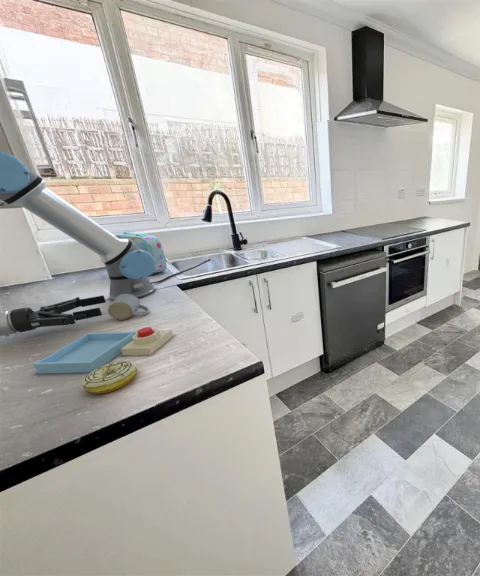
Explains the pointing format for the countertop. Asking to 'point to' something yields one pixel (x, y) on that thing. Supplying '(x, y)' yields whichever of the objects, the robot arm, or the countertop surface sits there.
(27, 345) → the countertop surface
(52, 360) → the shallow blue tray
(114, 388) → the decorated donut
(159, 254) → the lunch box
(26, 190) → the robot arm
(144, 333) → the button
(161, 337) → the control block
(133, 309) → the ceramic mug
